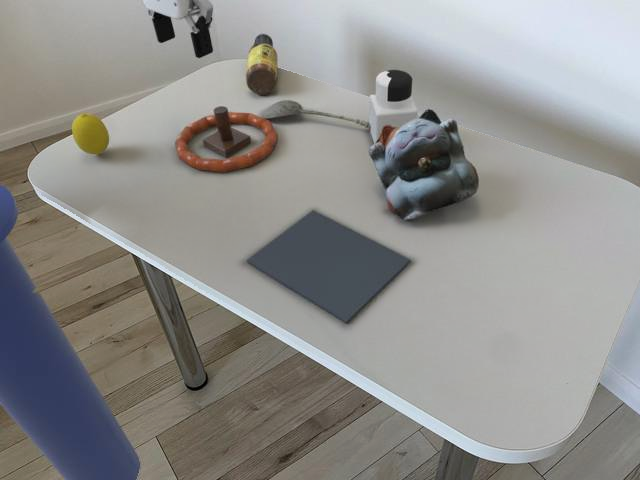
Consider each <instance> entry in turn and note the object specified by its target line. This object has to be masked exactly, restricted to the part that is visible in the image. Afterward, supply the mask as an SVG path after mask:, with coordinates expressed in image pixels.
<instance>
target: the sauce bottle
mask: <svg viewBox="0 0 640 480" xmlns="http://www.w3.org/2000/svg"><path fill="white" fill-rule="evenodd" d="M278 59H279V58H278V53H277V50H276V49H275V48H274V42H273V39H272V37H271V36H270V35H268V34H266V33H260V34H258V35H257V36H256V37H255V38H254V43H253V44H252V46H251V47H250V49H249V51H248V55H247V63H246V70H245V71H246V72H245V81H246V86H247V88H248V89H249V90H250V91H251V92H252V93H254V94H256V95H258V96H260V95H261V96H265V95H268V94H271V93H272V92H273V91H274V89H275V88H276V86H277V84H278V61H279V60H278Z"/></svg>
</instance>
